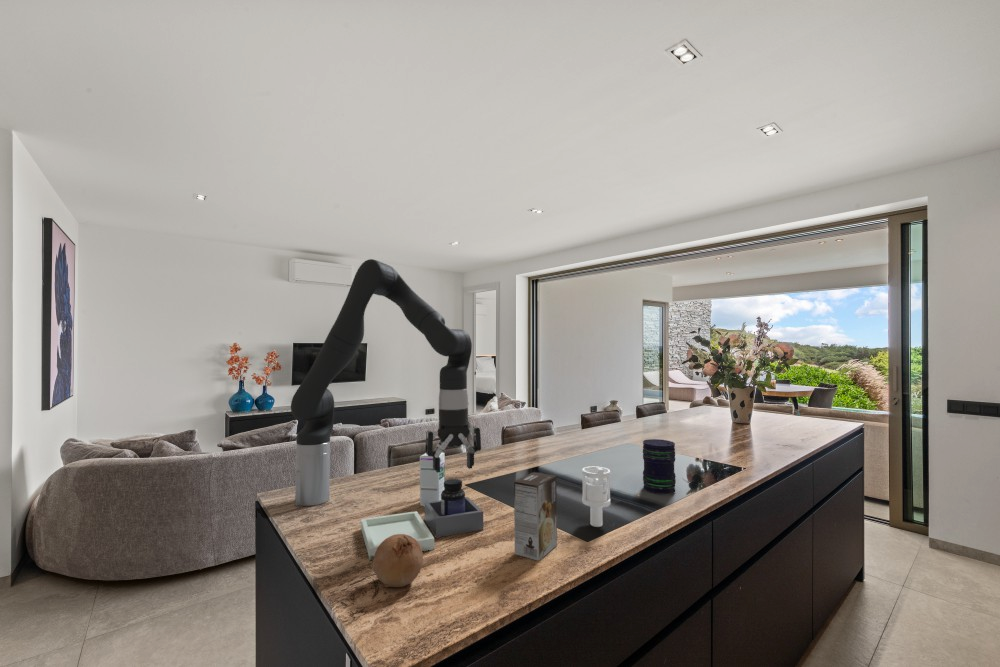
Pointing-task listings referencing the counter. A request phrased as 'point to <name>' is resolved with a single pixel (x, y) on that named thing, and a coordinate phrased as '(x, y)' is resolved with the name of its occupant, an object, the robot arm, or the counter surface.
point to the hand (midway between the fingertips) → (453, 469)
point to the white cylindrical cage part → (596, 492)
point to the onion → (398, 560)
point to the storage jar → (659, 466)
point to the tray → (395, 530)
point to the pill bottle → (452, 498)
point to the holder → (453, 519)
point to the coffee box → (535, 515)
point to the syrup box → (431, 479)
